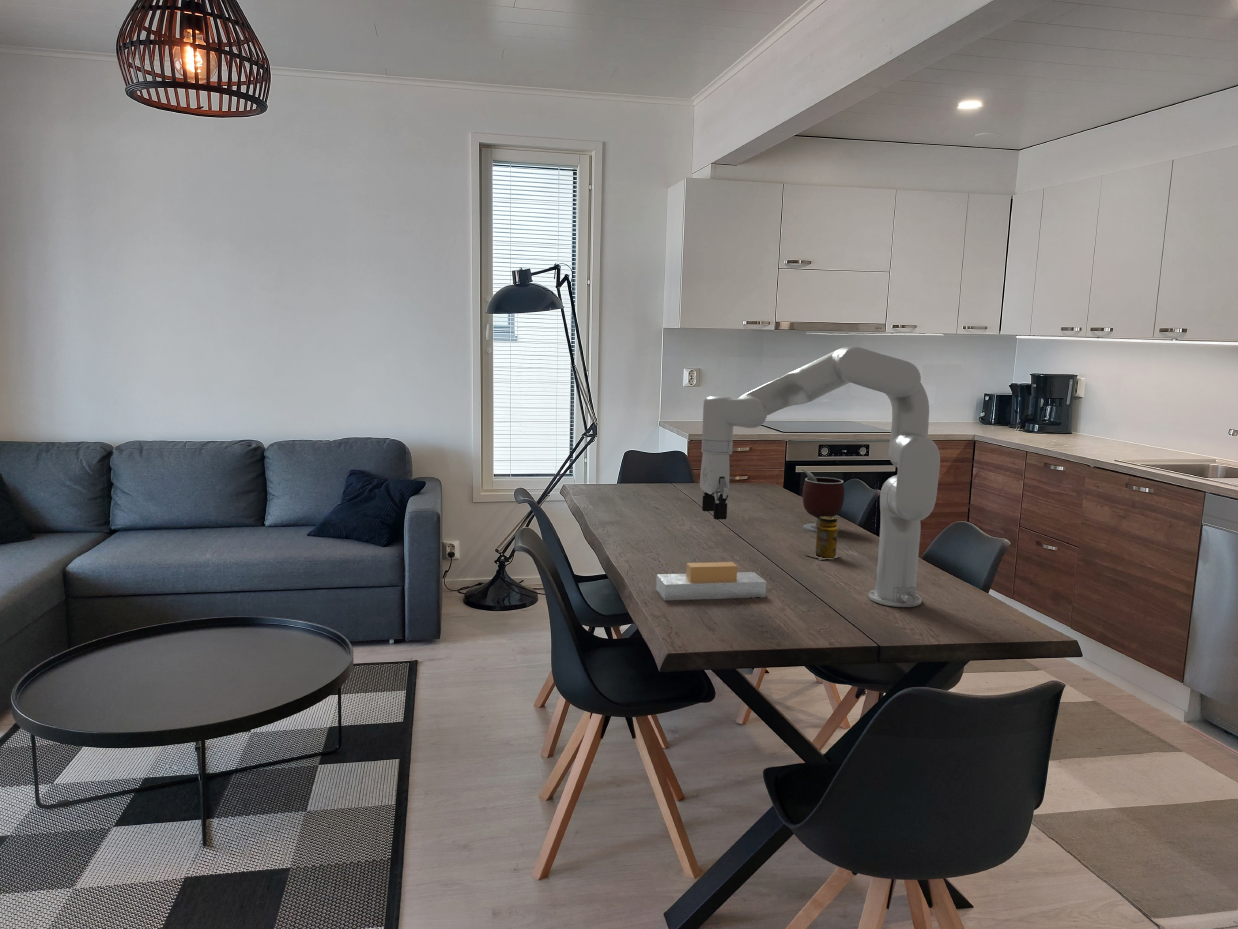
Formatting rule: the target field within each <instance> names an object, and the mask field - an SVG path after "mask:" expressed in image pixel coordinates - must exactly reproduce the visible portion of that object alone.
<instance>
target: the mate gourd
mask: <svg viewBox="0 0 1238 929" xmlns="http://www.w3.org/2000/svg"><path fill="white" fill-rule="evenodd" d="M801 470H802V472H804V473H805V474H806V475H807V477H806V478H805V479H804V484H803V489H802V503H803V507H804V510H805V511H806V512H807V514H808V515H810V516H812V517H814V518H816V519H817V521H816V522H815V523H814V522H813V523H806V524H803V526H802V528H805V529H806V530H805V529H804V530H805V531H808V530H810V531H809V532H812V531H816V532H815V533H817V526H818V524H819V517H821V516H831V517H835V516H837V515H838V514H839V513H840V512H841V511H842V509H843V505H844V501H845V485H844V480H842V479H839V478H835V477H824V476H823V477H822V476H815V475H814V474H813V473H812V472H810V471H809V470H807V469H805V468H802V469H801ZM837 528H838V531H839V532H840V527H839V526H837Z"/></svg>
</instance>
